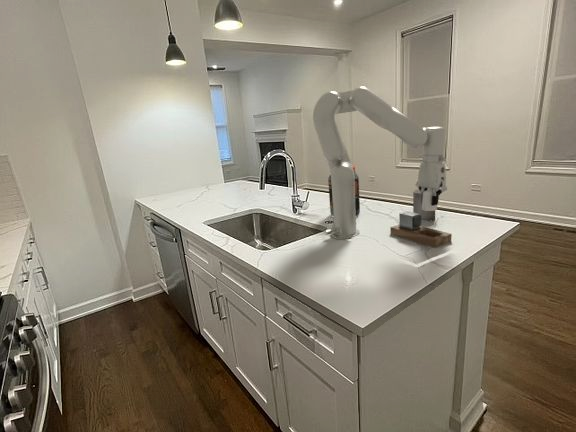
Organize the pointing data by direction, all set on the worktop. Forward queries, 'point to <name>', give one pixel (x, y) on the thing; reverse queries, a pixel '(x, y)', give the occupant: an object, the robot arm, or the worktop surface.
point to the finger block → (409, 221)
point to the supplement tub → (357, 201)
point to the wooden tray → (423, 236)
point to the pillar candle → (418, 207)
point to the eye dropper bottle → (428, 200)
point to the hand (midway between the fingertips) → (429, 203)
